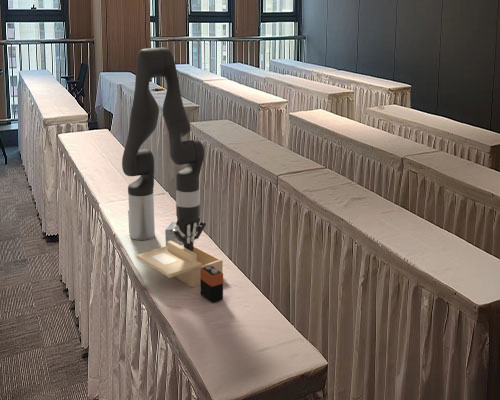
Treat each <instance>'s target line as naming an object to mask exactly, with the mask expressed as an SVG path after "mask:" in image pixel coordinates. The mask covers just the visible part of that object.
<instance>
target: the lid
mask: <svg viewBox="0 0 500 400" xmlns="http://www.w3.org/2000/svg"><path fill="white" fill-rule="evenodd" d="M136 259H138V260H139V261H141V262H142V263H145V264H146V265H147V266H150V267H151V268H152V269H154V270H156V271H158V272H159V273H161V274H162V275H164V276H166V277H168V278H172V277H175V275H178V274H181V273H184V272H187V271H190V270H193V269H196V268H199V267H202V263H200V262H198V261H197V254H196V253H194V252H192V251H190V250H188V249H186V248H185V247H183V246H181V245H179V244H177V243H175V242H173V241H167V246H166V245H165V246H162V247H159V248H156V249H152V250H149V251H146V252H143V253H139V254H136Z"/></svg>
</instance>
